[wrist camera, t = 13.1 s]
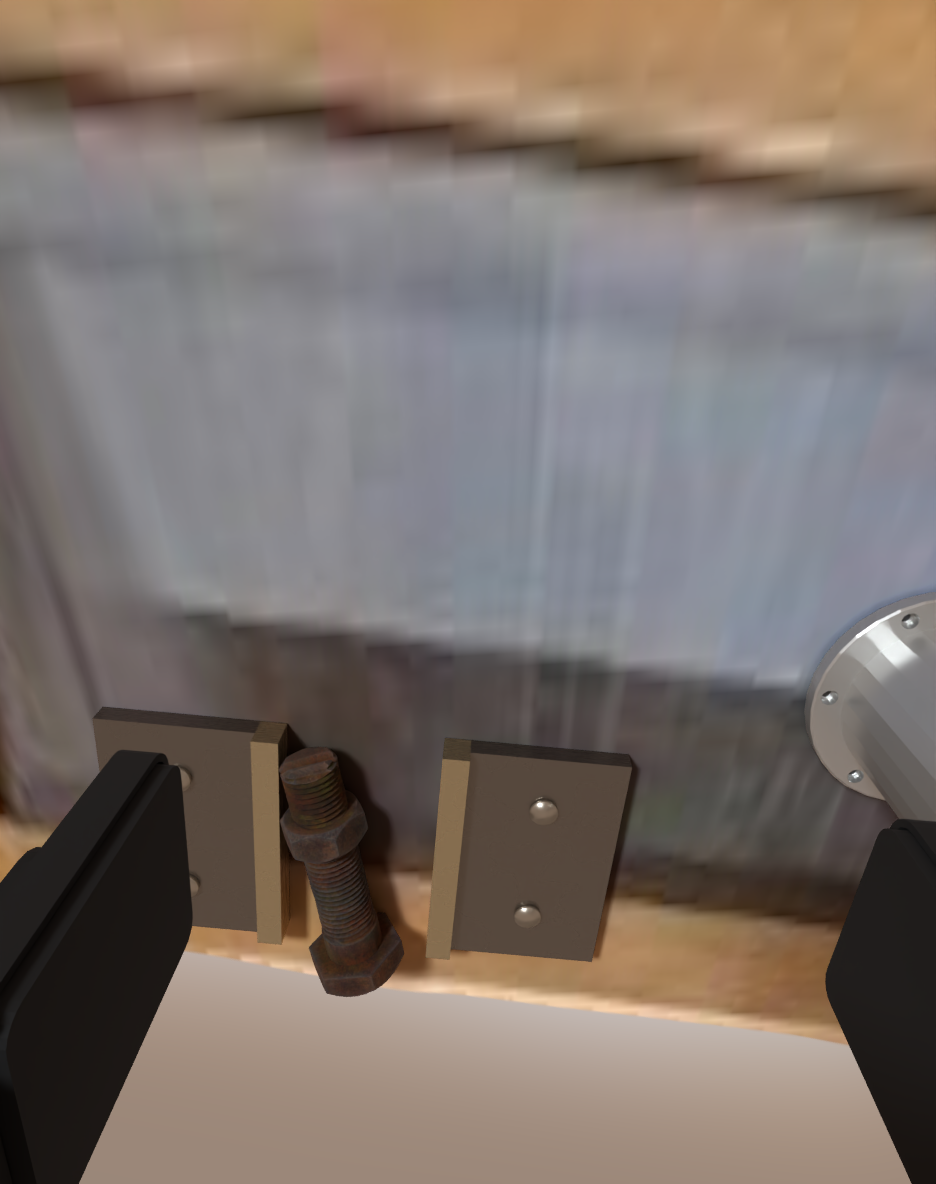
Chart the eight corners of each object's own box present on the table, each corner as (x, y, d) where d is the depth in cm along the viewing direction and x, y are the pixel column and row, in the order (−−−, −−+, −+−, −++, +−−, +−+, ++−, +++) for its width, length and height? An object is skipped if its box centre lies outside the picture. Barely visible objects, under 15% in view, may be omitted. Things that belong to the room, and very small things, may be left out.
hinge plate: (628, 754, 43) (634, 776, 41) (589, 946, 49) (593, 972, 47) (102, 706, 43) (85, 726, 41) (127, 904, 49) (113, 929, 47)
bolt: (333, 720, 45) (380, 914, 51) (250, 751, 43) (307, 950, 49) (367, 764, 40) (415, 974, 46) (274, 801, 38) (335, 1016, 44)
